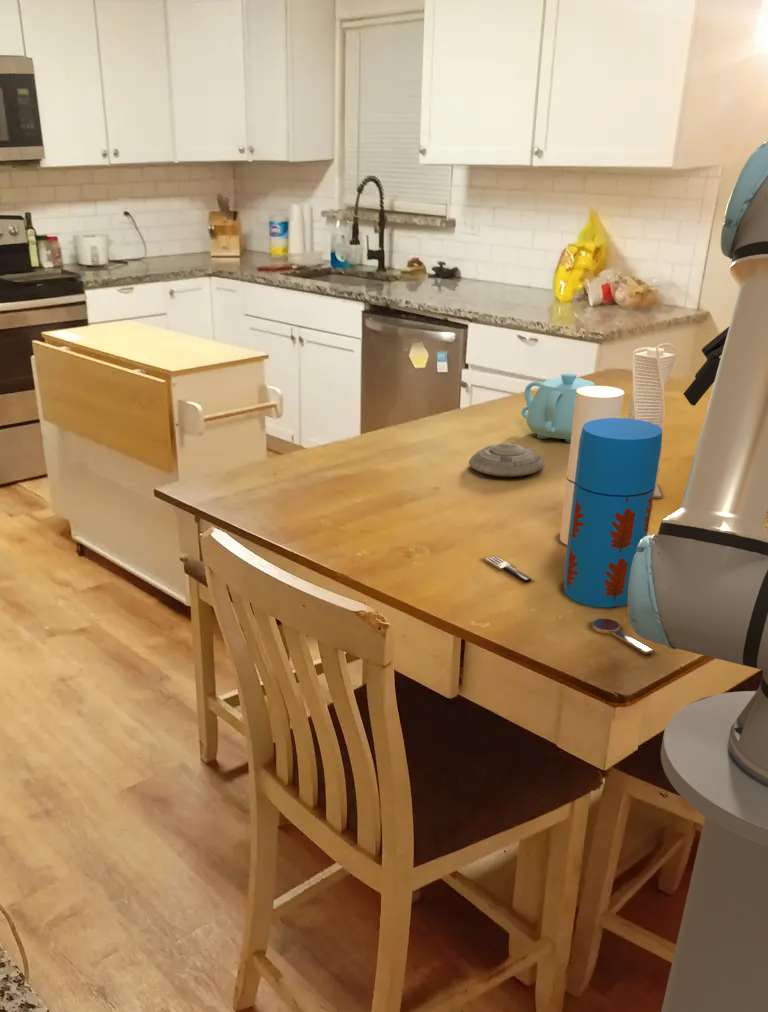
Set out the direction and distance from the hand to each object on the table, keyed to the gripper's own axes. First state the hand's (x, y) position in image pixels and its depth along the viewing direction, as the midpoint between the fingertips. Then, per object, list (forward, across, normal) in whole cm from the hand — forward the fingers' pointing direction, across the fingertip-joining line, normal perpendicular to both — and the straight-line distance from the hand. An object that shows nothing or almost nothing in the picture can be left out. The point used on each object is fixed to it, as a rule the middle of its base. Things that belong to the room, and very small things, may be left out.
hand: (719, 408), depth 137 cm
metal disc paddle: (+36, -12, 0) cm, 38 cm away
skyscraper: (+6, +30, -30) cm, 43 cm away
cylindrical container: (+23, +17, -13) cm, 31 cm away
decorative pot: (-3, +66, -38) cm, 76 cm away
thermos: (+31, 0, -5) cm, 31 cm away
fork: (+35, +13, 0) cm, 38 cm away
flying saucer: (+15, +53, -21) cm, 59 cm away
